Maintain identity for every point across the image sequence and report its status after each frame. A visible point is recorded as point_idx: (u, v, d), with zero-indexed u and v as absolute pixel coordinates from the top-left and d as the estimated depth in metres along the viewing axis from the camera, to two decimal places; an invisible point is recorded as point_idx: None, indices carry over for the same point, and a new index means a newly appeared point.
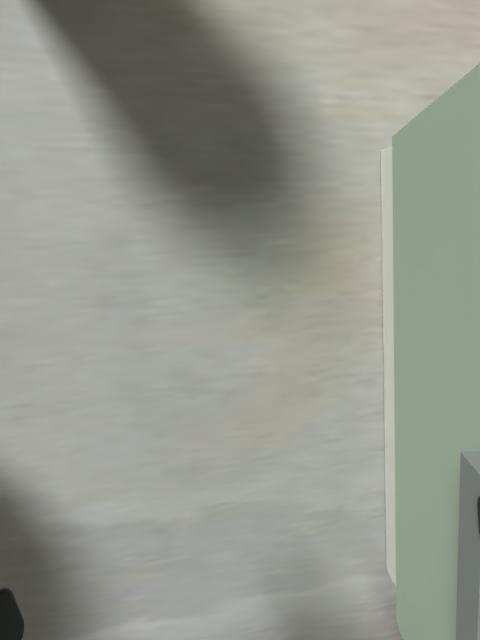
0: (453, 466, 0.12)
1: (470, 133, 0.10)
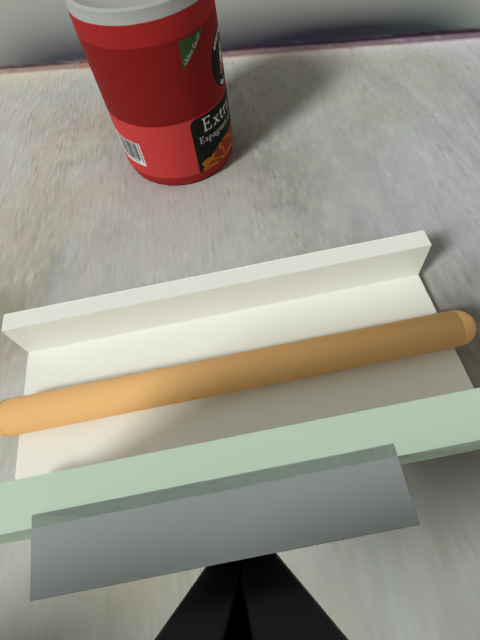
0: None
1: None
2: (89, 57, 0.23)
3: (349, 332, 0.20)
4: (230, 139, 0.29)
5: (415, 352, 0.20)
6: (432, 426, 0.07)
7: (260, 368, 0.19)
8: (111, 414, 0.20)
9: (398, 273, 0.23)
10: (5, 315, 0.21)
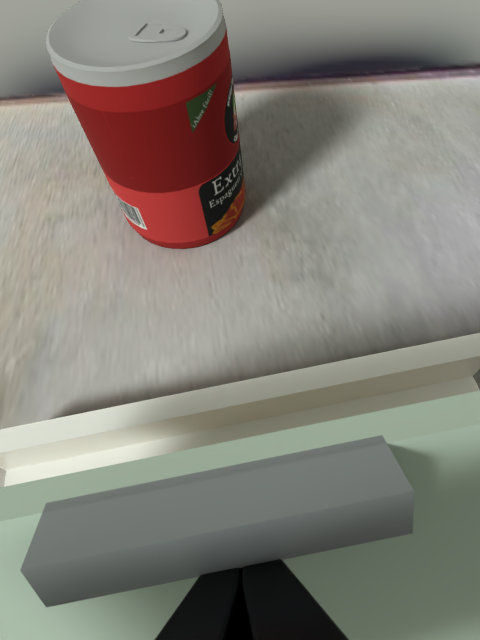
0: None
1: None
2: (79, 115, 0.19)
3: None
4: (243, 196, 0.25)
5: None
6: (416, 421, 0.07)
7: None
8: None
9: (450, 377, 0.19)
10: None
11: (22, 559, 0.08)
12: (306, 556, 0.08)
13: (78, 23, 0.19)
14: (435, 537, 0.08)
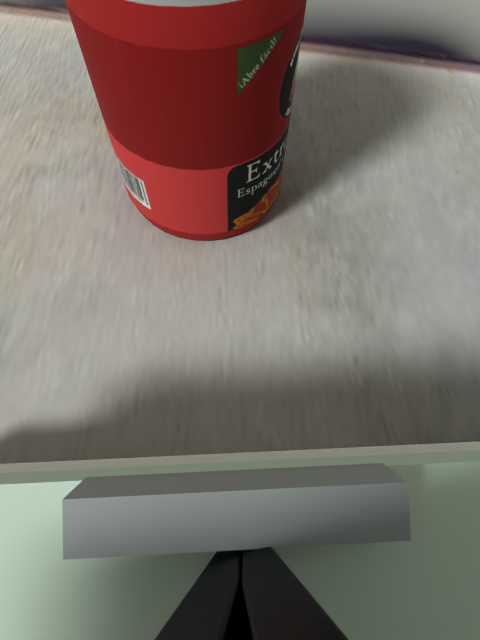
0: None
1: None
2: (80, 39, 0.14)
3: None
4: (278, 187, 0.20)
5: None
6: (412, 459, 0.09)
7: None
8: None
9: None
10: None
11: (41, 538, 0.08)
12: None
13: None
14: (442, 611, 0.08)
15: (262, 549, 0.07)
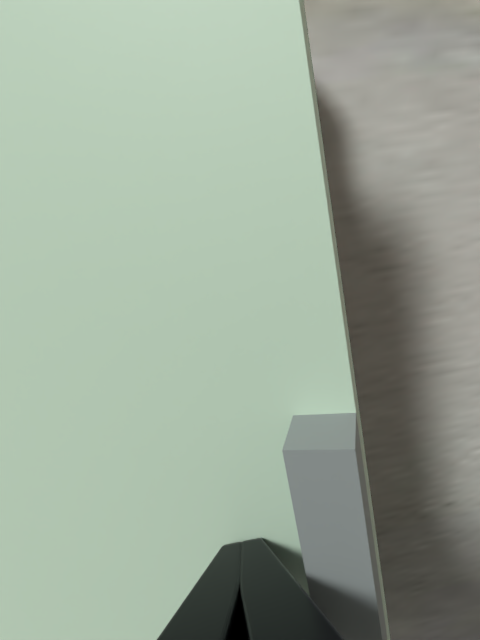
0: (169, 515, 0.08)
1: (57, 1, 0.06)
2: None
3: None
4: None
5: None
6: None
7: None
8: None
9: None
10: None
11: (280, 370, 0.07)
12: None
13: None
14: None
15: (260, 550, 0.07)
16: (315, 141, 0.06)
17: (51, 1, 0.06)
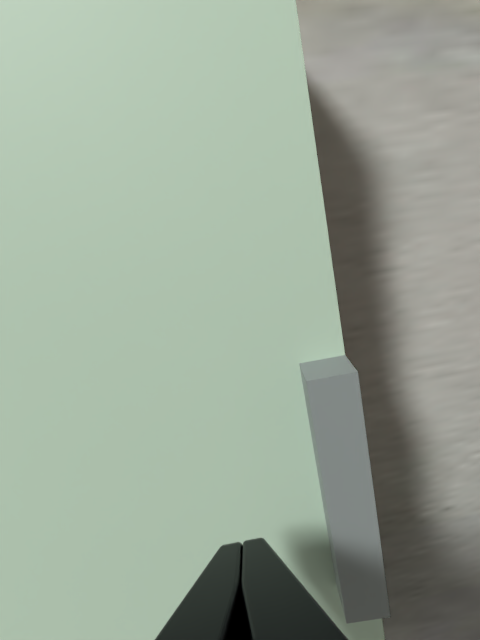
0: (192, 468, 0.10)
1: (113, 43, 0.08)
2: None
3: None
4: None
5: None
6: None
7: None
8: None
9: None
10: None
11: (290, 328, 0.09)
12: None
13: None
14: None
15: (262, 549, 0.07)
16: (316, 160, 0.08)
17: (107, 42, 0.08)
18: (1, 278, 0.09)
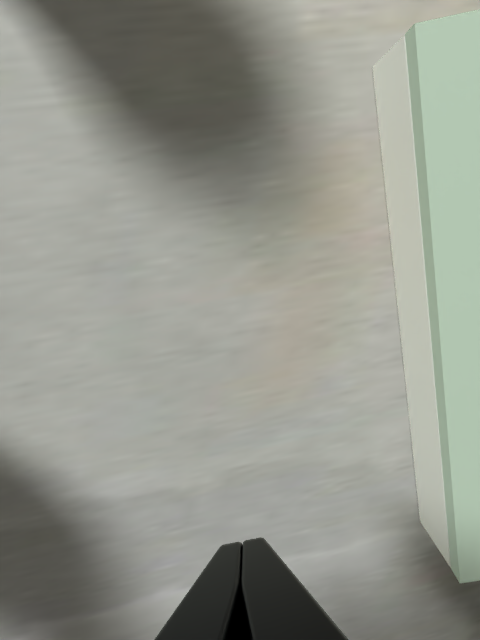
0: None
1: None
2: None
3: None
4: None
5: None
6: None
7: None
8: None
9: None
10: None
11: None
12: None
13: None
14: None
15: (262, 549, 0.07)
16: None
17: None
18: None
